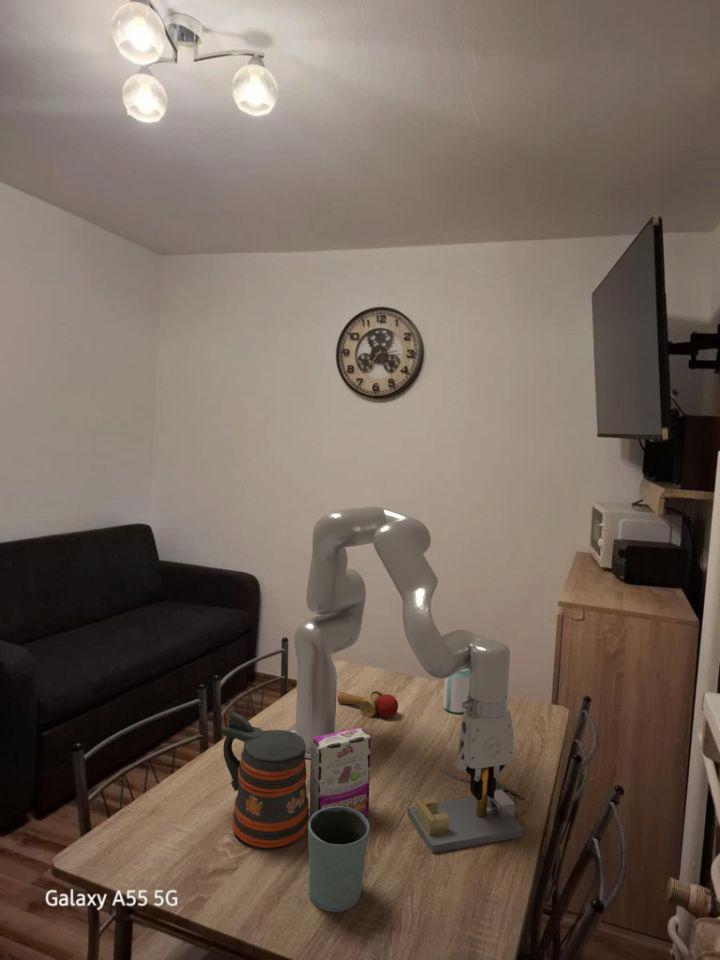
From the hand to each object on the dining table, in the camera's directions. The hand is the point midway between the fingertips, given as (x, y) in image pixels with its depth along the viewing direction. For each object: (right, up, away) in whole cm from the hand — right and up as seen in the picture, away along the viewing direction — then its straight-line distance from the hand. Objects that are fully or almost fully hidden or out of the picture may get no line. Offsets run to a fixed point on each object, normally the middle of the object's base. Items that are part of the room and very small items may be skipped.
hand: (482, 794), depth 124 cm
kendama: (-22, -2, +48) cm, 53 cm away
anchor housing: (+4, -4, +2) cm, 6 cm away
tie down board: (-4, -6, -1) cm, 7 cm away
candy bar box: (-28, -5, +1) cm, 29 cm away
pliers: (+4, -5, +16) cm, 18 cm away
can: (+3, -2, +52) cm, 52 cm away
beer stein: (-43, -4, -2) cm, 44 cm away
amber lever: (+2, -4, +1) cm, 5 cm away
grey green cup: (-28, -6, -20) cm, 35 cm away
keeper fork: (-10, -4, -3) cm, 11 cm away
